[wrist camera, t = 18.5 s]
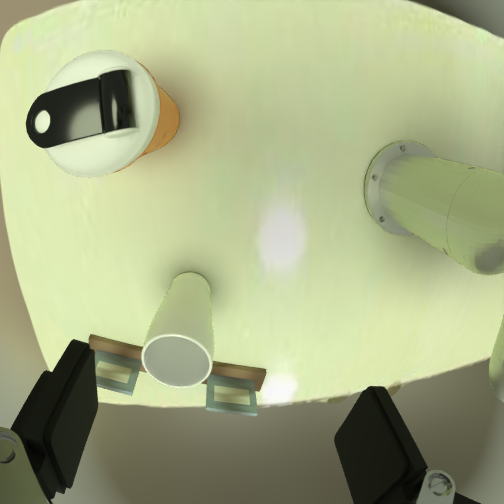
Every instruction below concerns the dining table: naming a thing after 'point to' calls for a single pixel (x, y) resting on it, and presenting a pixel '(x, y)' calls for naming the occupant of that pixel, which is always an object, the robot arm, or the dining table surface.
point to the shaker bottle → (101, 115)
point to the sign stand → (218, 382)
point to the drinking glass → (181, 334)
